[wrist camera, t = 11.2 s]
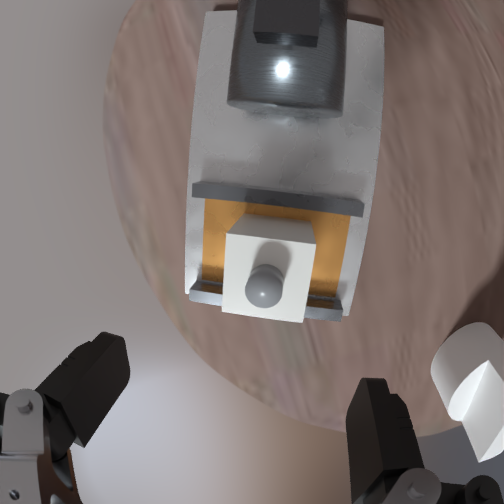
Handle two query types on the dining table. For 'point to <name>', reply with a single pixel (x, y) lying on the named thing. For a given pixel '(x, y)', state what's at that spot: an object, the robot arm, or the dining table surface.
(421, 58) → the dining table surface
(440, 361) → the white appliance knob
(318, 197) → the motor mount
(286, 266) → the cube with round knob
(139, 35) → the dining table surface
